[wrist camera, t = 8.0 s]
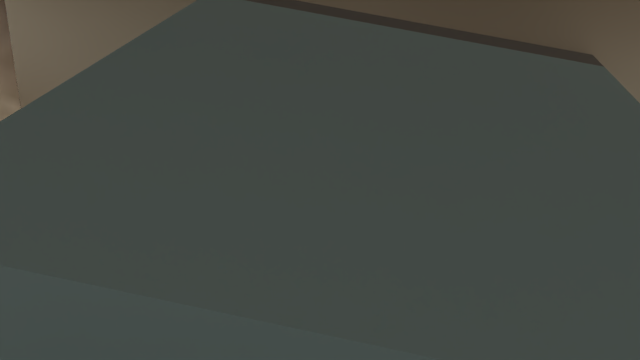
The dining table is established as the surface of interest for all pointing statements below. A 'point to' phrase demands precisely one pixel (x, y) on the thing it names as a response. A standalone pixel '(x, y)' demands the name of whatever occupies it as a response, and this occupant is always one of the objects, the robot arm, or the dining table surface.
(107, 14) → the birch board
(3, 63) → the dining table surface
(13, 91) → the dining table surface
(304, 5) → the sanding block
